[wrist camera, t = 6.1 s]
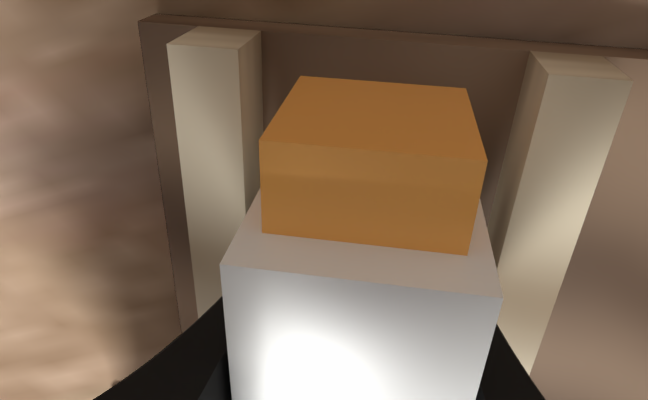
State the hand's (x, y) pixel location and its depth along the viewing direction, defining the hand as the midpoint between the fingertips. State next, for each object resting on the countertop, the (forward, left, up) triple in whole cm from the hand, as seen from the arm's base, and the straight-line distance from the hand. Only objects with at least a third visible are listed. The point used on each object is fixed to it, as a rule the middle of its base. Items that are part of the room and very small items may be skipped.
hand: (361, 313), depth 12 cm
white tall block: (0, 0, -2) cm, 2 cm away
